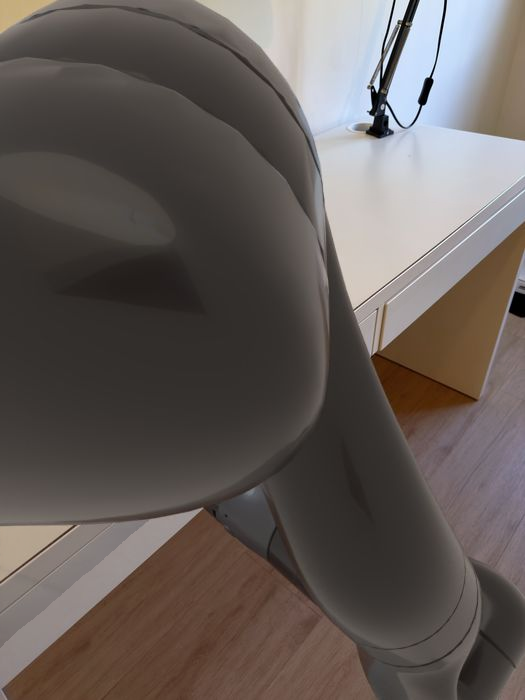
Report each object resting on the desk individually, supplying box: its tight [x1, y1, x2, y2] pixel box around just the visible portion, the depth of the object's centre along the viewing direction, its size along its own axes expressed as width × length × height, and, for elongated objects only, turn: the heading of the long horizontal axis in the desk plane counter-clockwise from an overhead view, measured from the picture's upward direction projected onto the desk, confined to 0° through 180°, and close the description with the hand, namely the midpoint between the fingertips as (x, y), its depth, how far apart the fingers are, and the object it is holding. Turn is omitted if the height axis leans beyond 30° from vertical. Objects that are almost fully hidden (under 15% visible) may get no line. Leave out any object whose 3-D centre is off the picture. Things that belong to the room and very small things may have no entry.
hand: (138, 392), depth 50 cm, fingers open, 8 cm apart
